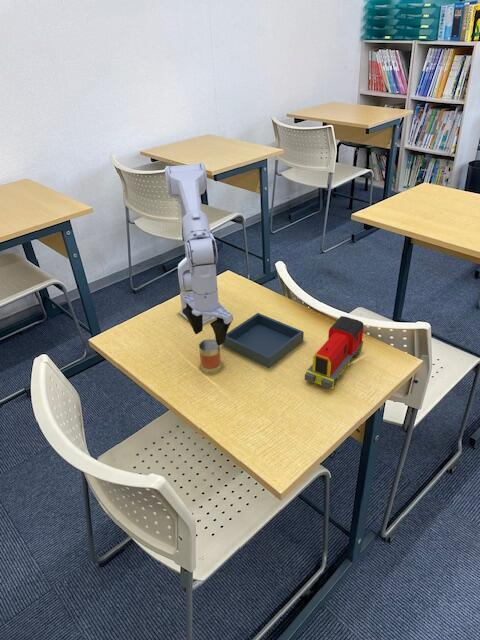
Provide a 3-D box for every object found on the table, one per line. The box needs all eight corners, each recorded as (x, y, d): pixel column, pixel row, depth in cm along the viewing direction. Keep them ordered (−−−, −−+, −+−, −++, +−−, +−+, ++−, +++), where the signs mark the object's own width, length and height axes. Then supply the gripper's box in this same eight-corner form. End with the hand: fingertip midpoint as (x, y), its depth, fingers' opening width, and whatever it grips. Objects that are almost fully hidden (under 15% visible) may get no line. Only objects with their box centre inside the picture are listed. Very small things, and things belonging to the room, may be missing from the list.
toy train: (362, 352, 123) (366, 319, 118) (330, 396, 110) (332, 361, 105) (338, 344, 127) (340, 312, 121) (303, 386, 113) (304, 351, 108)
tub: (223, 347, 128) (222, 336, 126) (258, 323, 137) (257, 312, 135) (269, 370, 119) (269, 358, 117) (303, 342, 128) (303, 331, 126)
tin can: (197, 366, 121) (194, 344, 118) (213, 359, 124) (211, 336, 120) (208, 376, 118) (206, 353, 114) (225, 368, 120) (223, 345, 117)
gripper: (170, 286, 111) (177, 334, 119) (215, 306, 103) (220, 356, 110) (192, 274, 116) (197, 322, 123) (237, 292, 107) (240, 342, 115)
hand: (209, 337), depth 117 cm, fingers open, 7 cm apart
